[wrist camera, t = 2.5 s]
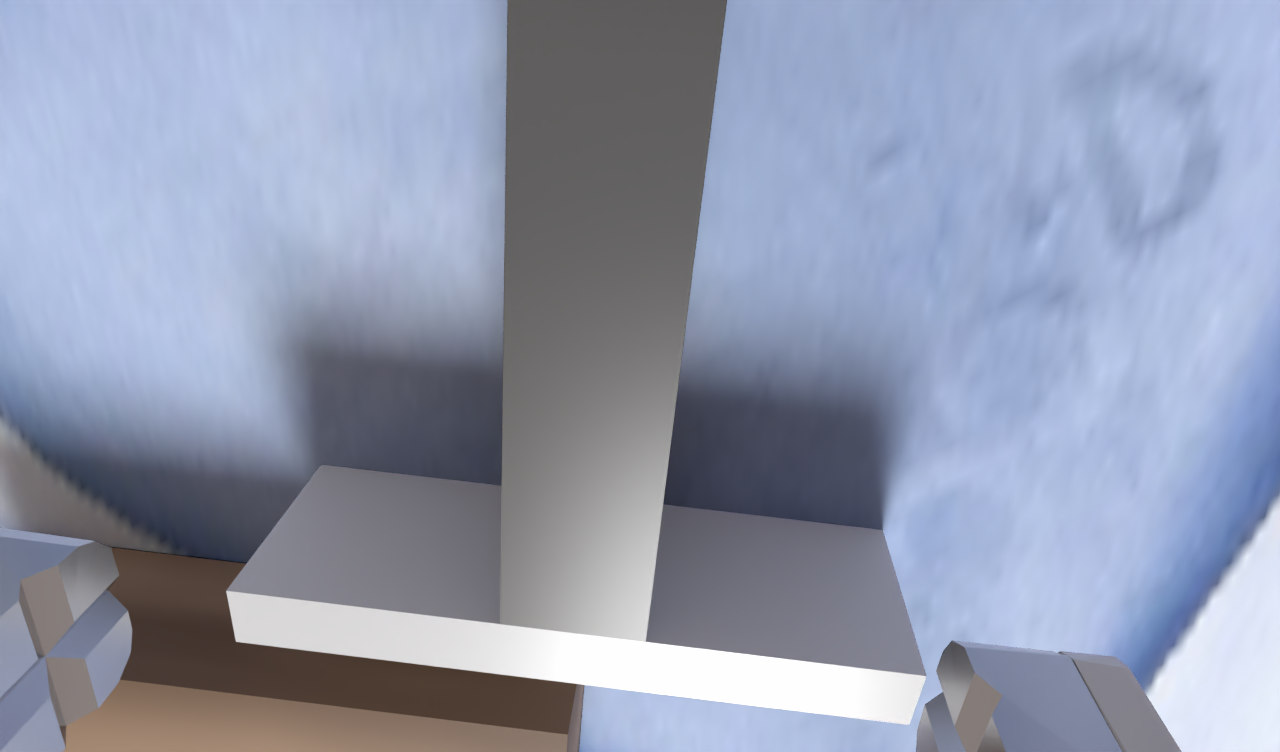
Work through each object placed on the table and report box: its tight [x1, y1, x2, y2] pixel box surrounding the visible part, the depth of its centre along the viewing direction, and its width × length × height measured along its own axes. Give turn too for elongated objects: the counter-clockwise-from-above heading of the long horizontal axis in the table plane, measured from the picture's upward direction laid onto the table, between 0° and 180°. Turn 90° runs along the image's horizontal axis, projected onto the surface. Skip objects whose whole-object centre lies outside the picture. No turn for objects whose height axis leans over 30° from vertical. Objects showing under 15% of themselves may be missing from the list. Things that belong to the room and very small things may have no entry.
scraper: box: [226, 0, 926, 725], centre depth 13 cm, size 15×12×4 cm
